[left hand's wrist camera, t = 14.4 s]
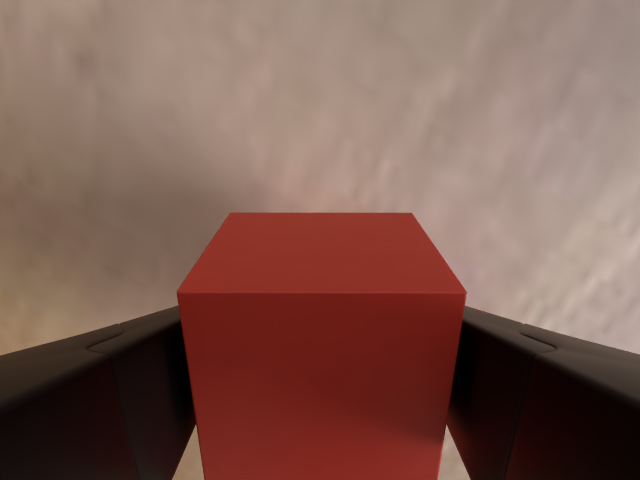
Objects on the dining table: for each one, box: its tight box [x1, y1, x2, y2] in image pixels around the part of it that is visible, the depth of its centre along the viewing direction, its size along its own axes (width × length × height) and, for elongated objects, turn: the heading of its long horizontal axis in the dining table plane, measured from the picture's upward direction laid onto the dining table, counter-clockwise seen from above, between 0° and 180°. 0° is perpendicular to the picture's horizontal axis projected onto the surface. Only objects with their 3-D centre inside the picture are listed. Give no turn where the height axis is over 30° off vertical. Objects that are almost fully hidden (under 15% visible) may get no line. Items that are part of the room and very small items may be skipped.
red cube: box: [177, 213, 467, 480], centre depth 10 cm, size 5×5×5 cm
